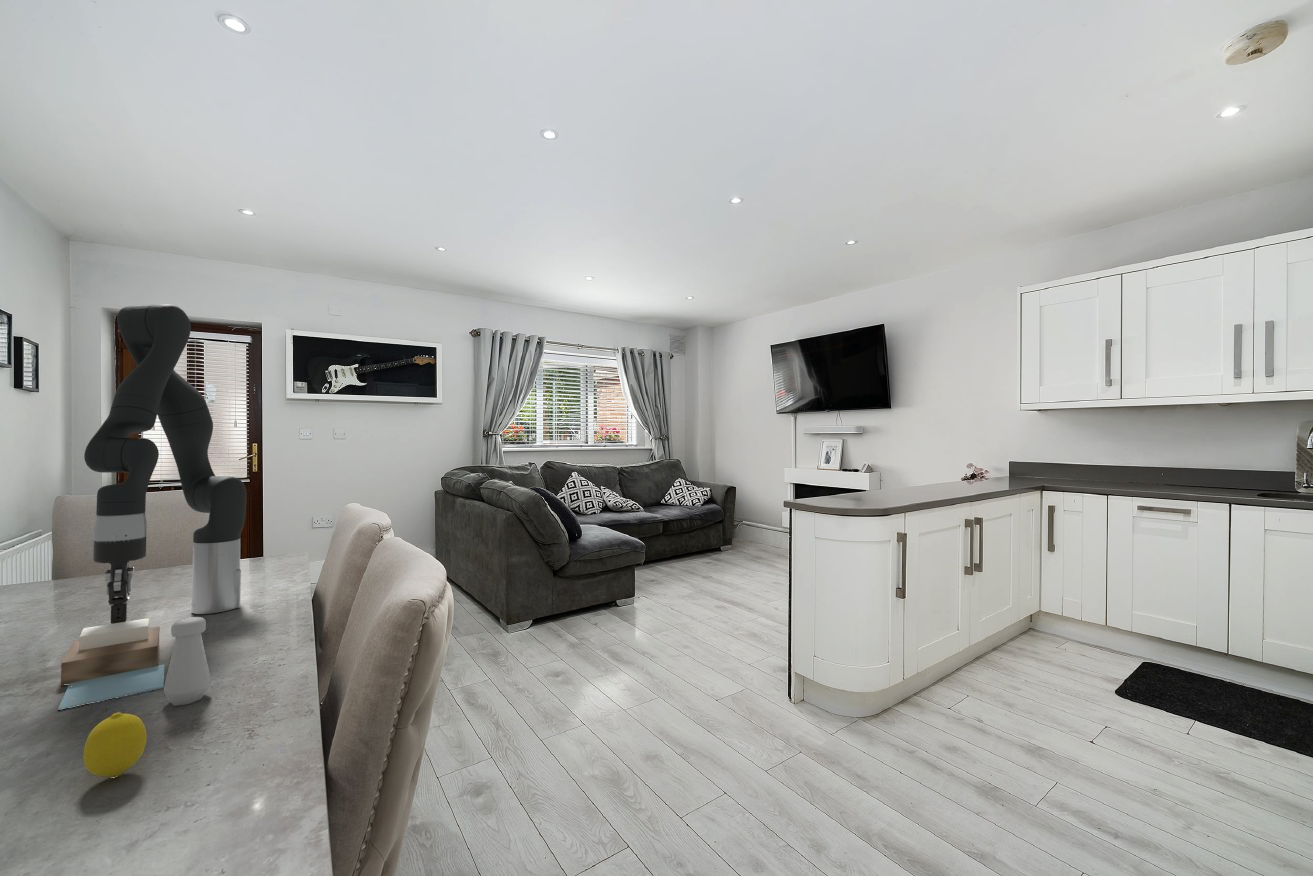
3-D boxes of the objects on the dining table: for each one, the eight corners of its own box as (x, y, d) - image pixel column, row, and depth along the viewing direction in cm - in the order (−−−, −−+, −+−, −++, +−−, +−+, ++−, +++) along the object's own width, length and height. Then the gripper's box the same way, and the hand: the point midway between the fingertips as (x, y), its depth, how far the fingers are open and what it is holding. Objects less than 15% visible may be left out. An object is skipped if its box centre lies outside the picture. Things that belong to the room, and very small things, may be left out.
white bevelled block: (149, 630, 107) (149, 618, 107) (147, 638, 102) (148, 625, 102) (83, 641, 101) (83, 628, 101) (79, 650, 96) (79, 636, 96)
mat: (164, 666, 99) (164, 664, 99) (163, 688, 91) (163, 686, 91) (69, 685, 91) (69, 683, 91) (57, 711, 83) (57, 709, 83)
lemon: (111, 765, 69) (113, 703, 69) (157, 763, 69) (159, 701, 69) (68, 793, 63) (69, 725, 63) (118, 791, 64) (120, 724, 64)
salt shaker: (219, 694, 88) (220, 616, 89) (178, 711, 83) (180, 627, 83) (195, 689, 90) (197, 612, 90) (154, 704, 85) (156, 622, 85)
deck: (159, 646, 109) (159, 626, 109) (157, 667, 99) (157, 645, 99) (72, 661, 101) (73, 640, 101) (60, 686, 91) (61, 663, 91)
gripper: (145, 538, 105) (142, 627, 105) (147, 530, 115) (145, 611, 115) (89, 543, 100) (87, 635, 100) (97, 534, 110) (95, 618, 110)
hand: (118, 622), depth 107 cm, fingers closed
